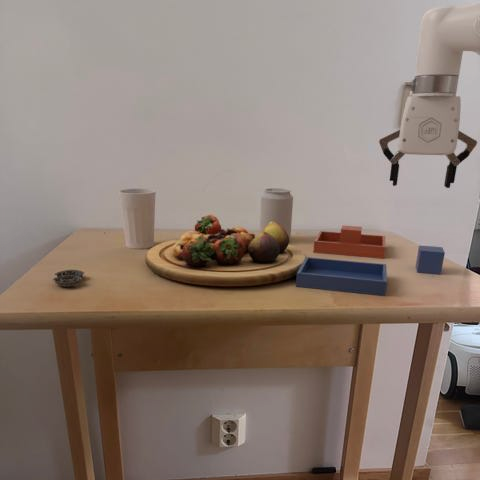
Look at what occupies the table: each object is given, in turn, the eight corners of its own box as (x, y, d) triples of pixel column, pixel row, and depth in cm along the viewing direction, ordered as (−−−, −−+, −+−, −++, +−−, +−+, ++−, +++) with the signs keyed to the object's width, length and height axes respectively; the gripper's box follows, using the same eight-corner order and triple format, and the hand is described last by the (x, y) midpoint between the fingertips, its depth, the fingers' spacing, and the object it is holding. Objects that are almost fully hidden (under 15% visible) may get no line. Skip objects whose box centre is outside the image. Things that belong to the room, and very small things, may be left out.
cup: (119, 249, 106) (115, 193, 101) (124, 241, 113) (120, 188, 109) (156, 249, 107) (154, 194, 102) (158, 241, 114) (156, 188, 110)
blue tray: (384, 276, 92) (386, 264, 91) (384, 295, 82) (387, 281, 81) (304, 269, 96) (305, 256, 95) (295, 286, 86) (296, 273, 85)
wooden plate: (152, 245, 111) (150, 208, 108) (290, 244, 114) (292, 208, 110) (136, 290, 82) (133, 242, 78) (323, 288, 84) (327, 241, 81)
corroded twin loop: (51, 289, 81) (50, 283, 81) (57, 275, 88) (56, 269, 88) (82, 287, 82) (81, 281, 82) (85, 273, 89) (85, 268, 89)
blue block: (438, 268, 98) (442, 247, 96) (440, 274, 94) (444, 252, 93) (415, 266, 99) (419, 245, 97) (416, 272, 95) (420, 250, 94)
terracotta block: (359, 245, 112) (361, 226, 111) (358, 250, 108) (361, 230, 107) (340, 244, 113) (342, 225, 112) (339, 248, 109) (341, 229, 108)
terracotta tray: (383, 246, 114) (385, 235, 113) (384, 258, 104) (385, 247, 103) (319, 241, 118) (319, 230, 117) (313, 252, 108) (314, 241, 107)
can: (271, 244, 113) (274, 192, 109) (253, 238, 119) (255, 188, 114) (296, 241, 117) (300, 190, 112) (277, 235, 123) (280, 186, 118)
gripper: (384, 87, 86) (374, 186, 93) (490, 86, 82) (471, 190, 89) (384, 90, 93) (374, 182, 100) (482, 89, 89) (465, 185, 95)
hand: (420, 186), depth 94 cm, fingers open, 9 cm apart
